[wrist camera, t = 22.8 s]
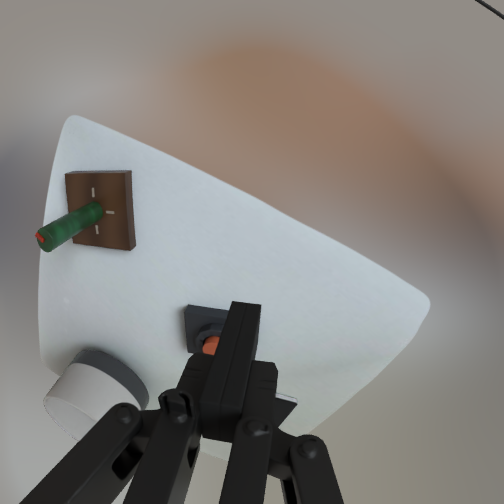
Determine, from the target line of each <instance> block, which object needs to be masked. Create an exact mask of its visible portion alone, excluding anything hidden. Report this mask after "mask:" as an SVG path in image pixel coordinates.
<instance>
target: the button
mask: <svg viewBox="0 0 504 504" xmlns="http://www.w3.org/2000/svg"><path fill="white" fill-rule="evenodd" d="M219 338H220V337H217V336H210V337H208V338H207V339H206V340H205V343H204V345H203V352H204V353H205V354H211V355H214V353H215V350H216V347H217V344H218V341H219Z"/></svg>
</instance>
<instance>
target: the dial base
mask: <svg viewBox="0 0 504 504" xmlns="http://www.w3.org/2000/svg"><path fill="white" fill-rule="evenodd" d="M65 183H66V194H67V203H68V212H69V213H70V212H72V211H74V210H76V209H78V208H80V207H82V206H84V205H86V204H88V203H90V202H93V201H94V202H97V203H99V204H100V205H101V207H102V210H103V216H102V218H101V220H99V221H98V222H96V223H94V224H93V225H91V226H89V227H88V228H86V229H85V230H83V231H81V232H80V233H78V234H77V235H75V236H73V237H72V239H73V243H76V244H83V245H90V246H98V247H106V248H113V249H121V250H129V251H131V250H132V249H133V248H134V247H135V246H136V240H135V228H134V215H133V198H132V174H131V171H129V170H117V171H72V172H69V173H66V174H65Z"/></svg>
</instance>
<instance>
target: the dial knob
mask: <svg viewBox="0 0 504 504" xmlns="http://www.w3.org/2000/svg"><path fill="white" fill-rule="evenodd" d="M102 216H103V210H102V207H101V205H100V204H99V203H97V202H94V201H93V202H90V203H88V204H86V205H84V206H82V207H80V208H78V209H76V210H74V211H72V212H70V213H68V214H66V215H64V216H63V217H61V218H59V219H57V220H55V221H53V222H51V223H50V224H48V225H46V226H44V227H42V228H41V229H39V230H38V232H37V233H36V235H35V236H36V237H37V241H38V244H39V246H40V247H41V249H42V250H43V251H45V252H51V251H52V250H54V249H55V248H57V247H58V246H60V245H61V244H63V243H64V242H66V241H67V240H69V239H70V238H72V237H73V236H75V235H77V234H78V233H80V232H81V231H83V230H85V229H86V228H88V227H89V226H91V225H93V224H94V223H96V222H98V221H99V220H101V218H102Z"/></svg>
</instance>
